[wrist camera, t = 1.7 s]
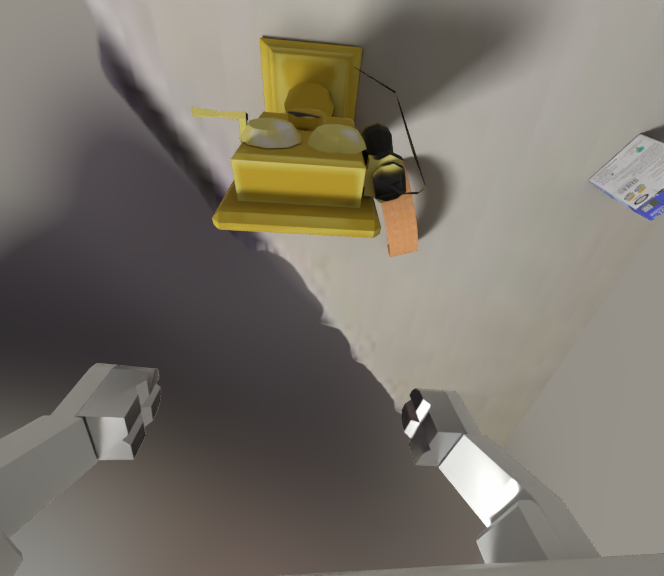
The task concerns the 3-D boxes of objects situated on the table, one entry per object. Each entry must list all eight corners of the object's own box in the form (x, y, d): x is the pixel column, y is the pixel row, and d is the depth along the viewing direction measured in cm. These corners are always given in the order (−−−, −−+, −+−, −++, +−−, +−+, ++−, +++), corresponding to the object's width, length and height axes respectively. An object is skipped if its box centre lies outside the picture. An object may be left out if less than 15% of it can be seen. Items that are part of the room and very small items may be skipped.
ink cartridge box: (602, 192, 59) (662, 229, 48) (585, 181, 57) (643, 217, 47) (656, 146, 53) (738, 178, 42) (639, 132, 51) (720, 162, 41)
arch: (402, 159, 54) (414, 181, 47) (410, 242, 67) (420, 269, 60) (372, 167, 55) (379, 190, 48) (386, 248, 68) (393, 275, 61)
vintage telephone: (423, 53, 43) (520, 89, 21) (401, 149, 53) (452, 242, 31) (213, 33, 41) (86, 50, 20) (230, 137, 51) (158, 225, 29)
